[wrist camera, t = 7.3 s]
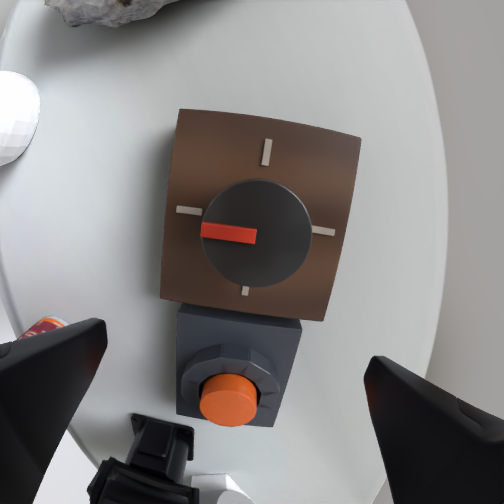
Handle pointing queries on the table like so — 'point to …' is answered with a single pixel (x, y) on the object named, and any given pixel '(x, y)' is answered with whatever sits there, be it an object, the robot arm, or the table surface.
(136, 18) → the rock
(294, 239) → the knob
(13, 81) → the bottle
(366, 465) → the table surface
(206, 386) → the button
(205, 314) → the button box
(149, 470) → the robot arm
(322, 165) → the panel
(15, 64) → the table surface
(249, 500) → the alarm clock
